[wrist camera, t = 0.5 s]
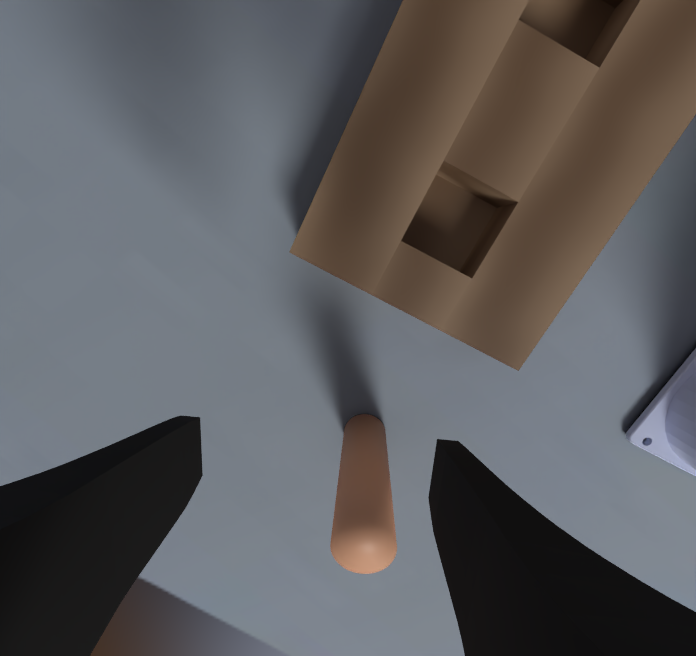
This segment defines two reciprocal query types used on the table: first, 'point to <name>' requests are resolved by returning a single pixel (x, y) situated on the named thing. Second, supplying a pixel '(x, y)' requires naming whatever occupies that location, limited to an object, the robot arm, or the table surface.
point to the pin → (364, 500)
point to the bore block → (500, 157)
